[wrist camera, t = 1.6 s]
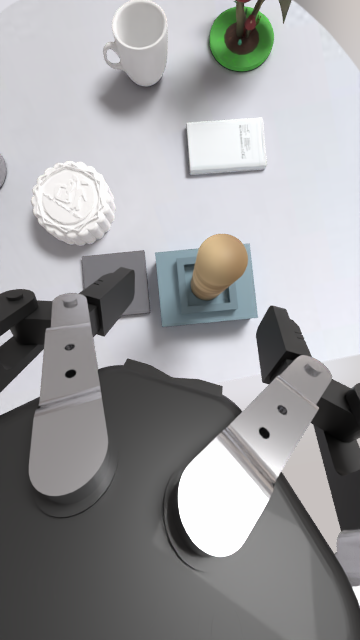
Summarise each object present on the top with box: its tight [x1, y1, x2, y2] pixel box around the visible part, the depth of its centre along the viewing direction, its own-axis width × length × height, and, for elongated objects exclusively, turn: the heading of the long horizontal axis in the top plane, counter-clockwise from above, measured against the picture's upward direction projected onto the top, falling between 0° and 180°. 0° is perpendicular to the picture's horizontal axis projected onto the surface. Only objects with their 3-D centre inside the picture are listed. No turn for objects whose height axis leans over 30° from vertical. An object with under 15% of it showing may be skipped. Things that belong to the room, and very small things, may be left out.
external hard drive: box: [186, 118, 267, 175], centre depth 32 cm, size 2×8×12 cm
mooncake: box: [31, 161, 116, 246], centre depth 30 cm, size 12×12×4 cm
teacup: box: [103, 0, 168, 86], centre depth 30 cm, size 10×8×5 cm
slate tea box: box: [155, 244, 258, 327], centre depth 29 cm, size 14×11×4 cm
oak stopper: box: [191, 234, 248, 301], centre depth 23 cm, size 5×5×11 cm
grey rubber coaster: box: [82, 250, 150, 315], centre depth 31 cm, size 10×10×1 cm
